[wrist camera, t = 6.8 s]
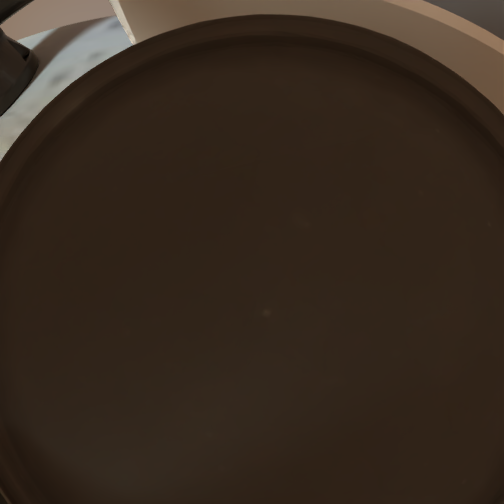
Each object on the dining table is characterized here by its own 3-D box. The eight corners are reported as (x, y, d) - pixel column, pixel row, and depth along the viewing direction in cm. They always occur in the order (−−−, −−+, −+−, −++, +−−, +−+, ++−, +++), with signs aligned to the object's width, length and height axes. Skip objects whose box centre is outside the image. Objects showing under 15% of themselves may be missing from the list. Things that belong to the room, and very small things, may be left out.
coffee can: (192, 240, 18) (50, 48, 5) (368, 253, 17) (518, 69, 4) (171, 414, 15) (-33, 513, 2) (354, 432, 14) (504, 585, 1)
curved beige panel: (205, 163, 20) (133, -25, 7) (463, 248, 17) (612, 134, 4) (198, 178, 20) (113, -11, 7) (461, 265, 17) (622, 159, 3)
